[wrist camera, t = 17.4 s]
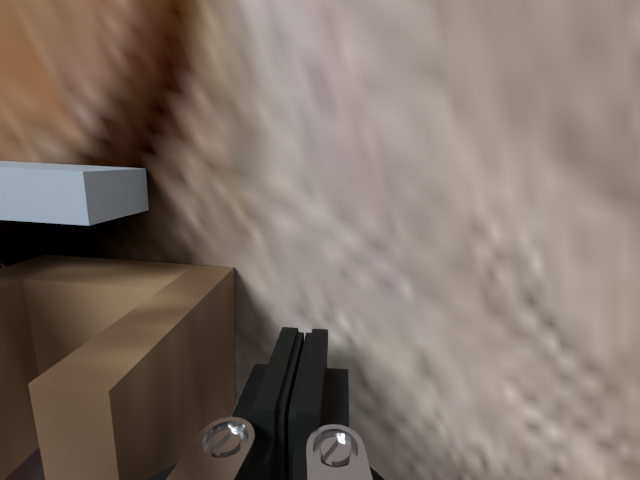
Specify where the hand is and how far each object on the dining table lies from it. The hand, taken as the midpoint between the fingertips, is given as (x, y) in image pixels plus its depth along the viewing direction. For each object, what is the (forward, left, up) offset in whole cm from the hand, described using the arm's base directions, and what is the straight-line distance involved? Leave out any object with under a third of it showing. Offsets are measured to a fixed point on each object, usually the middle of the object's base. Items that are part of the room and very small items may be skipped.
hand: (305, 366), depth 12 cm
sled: (+7, 0, -2) cm, 7 cm away
